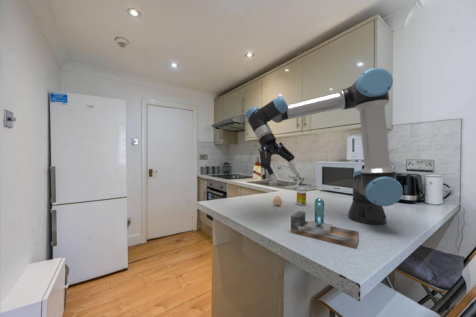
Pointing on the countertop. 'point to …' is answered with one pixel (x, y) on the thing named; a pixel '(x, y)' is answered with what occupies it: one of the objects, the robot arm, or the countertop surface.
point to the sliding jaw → (319, 218)
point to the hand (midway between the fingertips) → (287, 177)
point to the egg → (277, 201)
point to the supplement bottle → (301, 196)
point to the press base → (336, 235)
